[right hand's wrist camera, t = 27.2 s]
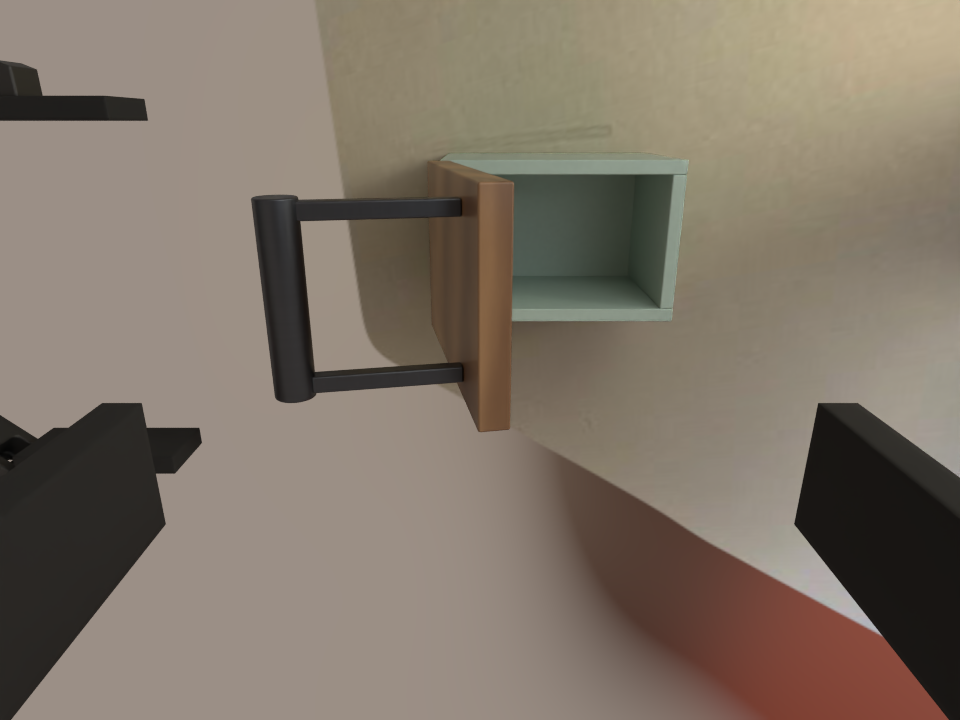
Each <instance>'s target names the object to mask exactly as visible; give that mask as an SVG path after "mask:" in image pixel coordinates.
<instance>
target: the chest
mask: <svg viewBox="0 0 960 720" xmlns="http://www.w3.org/2000/svg"><path fill="white" fill-rule="evenodd" d="M440 161H452V162H455V163H458V164H461V165H464V166H467V167H470V168H473V169H476V170H479V171H482V172H485V173H488V174H491V175H495V176H498V177H501V178H504V179H507V180H510V181H513V182H514V228H513V286H512V321H672V312H673V309H672V308H673V302H674V292H675V283H676V274H677V264H678V255H679V246H680V236H681V227H682V217H683V208H684V199H685V189H686V180H687V175H686V174H687V171H688V162H689V161H688V160H686V159H680V158H673V157H667V156H661V155H655V154H648V153H449V154H447V155H446V156H445V157H443V158H442V159H441V160H440Z"/></svg>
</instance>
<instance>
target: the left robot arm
mask: <svg viewBox="0 0 960 720" xmlns="http://www.w3.org/2000/svg"><path fill="white" fill-rule="evenodd" d="M147 120H148V118H147V112H146V106H145V100H144V99H137V98H124V97H112V96H42V91H41V86H40V82H39V77H38V73H37V70H36V69H34V68H31V67H29V66H26V65H24V64H21V63H14V62H7V61H0V121H147ZM66 429H68V428H53V429H52V430H50V431H49V432H47V433H46V434H44V435H43V436H42V437H40V438H39V439H37V438H35V437H34V436H32V435H31V434H29V433H27V432H26V431H24V430H23V429H21V428H20V427H18V426H16V425H15V424H13V423H12V422H10V421H8V420H7V419H5V418H4V417H2V416H1V415H0V478H1V477H2V476H3V475H5V474H6V473H7V472H9V471H10V470H12V469H13V468H14V467H16V466H17V465H18V464H20V463H21V462H22V461H24V460H25V459H27V458H28V457H29V456H31V455H32V454H33V453H35V452H36V451H38V450H39V449H40V448H42V447H43V446H44V445H46V444H47V443H48V442H50V441H51V440H53V439H54V438H55V437H57V436H58V435H59V434H61V433H62V432H63V431H65V430H66ZM147 433H148V438H149V443H150V448H151V453H152V458H153V463H154V468H155V473H176V472H177V471H178V469H179V468H180V467H181V466H182V465H183V464H184V463H185V461H186V460H187V459H188V458H189V457H190V456H191V455H192V453H193V452H194V451H195V450H196V449H197V448H198V447H199V446H200V444H201V443H202V441H201V435H200V429H199V428H147ZM8 460H13V461H11V462H9V461H8Z"/></svg>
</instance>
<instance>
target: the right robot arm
mask: <svg viewBox="0 0 960 720" xmlns="http://www.w3.org/2000/svg"><path fill="white" fill-rule="evenodd" d="M165 524H166V523H165V518H164V513H163V508H162V503H161V498H160V493H159V488H158V483H157V478H156V473H155V468H154V463H153V458H152V453H151V448H150V443H149V438H148V433H147V428H146V423H145V418H144V413H143V407H142V403H102V404H100V405H99V406H98V407H96V408H95V409H94V410H92V411H91V412H89V413H88V414H87V415H85V416H84V417H83V418H81V419H80V420H79V421H77V422H76V423H74V424H73V425H72V426H70V427H69V428H68V429H66V430H65V431H63V432H62V433H61V434H59V435H58V436H57V437H55V438H54V439H53V440H51V441H50V442H48V443H47V444H46V445H44V446H43V447H42V448H40V449H39V450H38V451H36V452H35V453H33V454H32V455H31V456H29V457H28V458H27V459H25V460H24V461H22V462H21V463H20V464H18V465H17V466H16V467H14V468H13V469H12V470H10V471H9V472H7V473H6V474H5V475H3V476H2V477H1V478H0V720H11V719H12V718H13V716H14V715H15V714H16V713H17V711H18V710H19V709H20V708H21V706H22V705H23V704H24V703H25V701H26V700H27V699H28V698H29V696H30V695H31V694H32V693H33V691H34V690H35V689H36V687H37V686H38V685H39V684H40V682H41V681H42V680H43V679H44V677H45V676H46V675H47V674H48V672H49V671H50V670H51V668H52V667H53V666H54V665H55V663H56V662H57V661H58V660H59V658H60V657H61V656H62V655H63V653H64V652H65V651H66V650H67V648H68V647H69V646H70V644H71V643H72V642H73V641H74V639H75V638H76V637H77V636H78V634H79V633H80V632H81V631H82V629H83V628H84V627H85V626H86V624H87V623H88V622H89V620H90V619H91V618H92V617H93V615H94V614H95V613H96V612H97V610H98V609H99V608H100V607H101V605H102V604H103V603H104V602H105V600H106V599H107V598H108V596H109V595H110V594H111V593H112V591H113V590H114V589H115V588H116V586H117V585H118V584H119V583H120V581H121V580H122V579H123V577H124V576H125V575H126V574H127V572H128V571H129V570H130V569H131V567H132V566H133V565H134V564H135V562H136V561H137V560H138V558H139V557H140V556H141V555H142V553H143V552H144V551H145V550H146V548H147V547H148V546H149V545H150V543H151V542H152V541H153V540H154V538H155V537H156V536H157V534H158V533H159V532H160V531H161V529H162V528H163V527H164V526H165ZM794 524H795V526H796V527H797V528H798V529H799V531H800V532H801V533H802V535H803V536H804V537H805V538H806V540H807V541H808V542H809V543H810V545H811V546H812V547H813V548H814V550H815V551H816V552H817V553H818V555H819V556H820V557H821V559H822V560H823V561H824V562H825V564H826V565H827V566H828V567H829V569H830V570H831V571H832V572H833V574H834V575H835V576H836V577H837V579H838V580H839V581H840V583H841V584H842V585H843V586H844V588H845V589H846V590H847V591H848V593H849V594H850V595H851V596H852V598H853V599H854V600H855V602H856V603H857V604H858V605H859V607H860V608H861V609H862V610H863V612H864V613H865V614H866V615H867V617H868V618H869V619H870V620H871V622H872V623H873V624H874V626H875V627H876V628H877V629H878V631H879V632H880V633H881V634H882V636H883V637H884V638H885V639H886V641H887V642H888V643H889V644H890V646H891V647H892V648H893V650H894V651H895V652H896V653H897V655H898V656H899V657H900V658H901V660H902V661H903V662H904V663H905V665H906V666H907V667H908V669H909V670H910V671H911V672H912V674H913V675H914V676H915V677H916V679H917V680H918V681H919V682H920V684H921V685H922V686H923V687H924V689H925V690H926V691H927V692H928V694H929V695H930V696H931V698H932V699H933V700H934V701H935V703H936V704H937V705H938V706H939V708H940V709H941V710H942V711H943V713H944V714H945V715H946V716H947V718H948V719H949V720H960V478H959V477H958V476H957V475H955V474H954V473H953V472H951V471H950V470H948V469H947V468H946V467H944V466H943V465H942V464H940V463H939V462H938V461H936V460H935V459H933V458H932V457H931V456H929V455H928V454H927V453H925V452H924V451H922V450H921V449H920V448H918V447H917V446H916V445H914V444H913V443H912V442H910V441H909V440H907V439H906V438H905V437H903V436H902V435H901V434H899V433H898V432H897V431H895V430H894V429H892V428H891V427H890V426H888V425H887V424H886V423H884V422H883V421H881V420H880V419H879V418H877V417H876V416H875V415H873V414H872V413H871V412H869V411H868V410H866V409H865V408H864V407H862V406H861V405H860V404H858V403H818V407H817V413H816V418H815V423H814V428H813V433H812V438H811V443H810V448H809V453H808V458H807V463H806V468H805V473H804V478H803V483H802V488H801V493H800V498H799V503H798V508H797V513H796V518H795V523H794Z"/></svg>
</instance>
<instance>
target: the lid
mask: <svg viewBox="0 0 960 720" xmlns="http://www.w3.org/2000/svg"><path fill="white" fill-rule="evenodd" d="M427 172H428V197H411V198H363V199H316V200H298V197H297V196H294V195H264V196H256V197H253V198H252V199H251V202H252V210H253V218H254V227H255V235H256V243H257V252H258V259H259V268H260V276H261V284H262V293H263V301H264V309H265V317H266V326H267V334H268V342H269V351H270V359H271V367H272V376H273V384H274V392H275V398H276V399H277V400H278V401H280V402H285V403H297V402H303V401H307V400H309V399H311V398H313V397H314V396H315V395H316V393H322V392H336V391H349V390H363V389H376V388H390V387H403V386H416V385H430V384H443V383H457V384H458V386H459V388H460V390H461V393H462V395H463V397H464V400H465V402H466V404H467V407H468V409H469V411H470V413H471V416H472V418H473V420H474V423H475V425H476V427H477V429H478V431H479V432H487V431H499V430H508V429H510V403H511V345H512V286H513V228H514V182H513V181H510V180H507V179H504V178H501V177H498V176H495V175H491V174H488V173H485V172H482V171H479V170H476V169H473V168H470V167H467V166H464V165H461V164H458V163H455V162H452V161H428V162H427ZM398 218H429V243H430V279H431V315H432V326H433V329H434V331H435V333H436V335H437V338H438V340H439V342H440V345H441V347H442V349H443V351H444V354H445V356H446V358H447V361H448V363H440V364H425V365H411V366H396V367H382V368H367V369H353V370H338V371H324V372H315V370H314V360H313V349H312V339H311V328H310V318H309V307H308V297H307V287H306V276H305V266H304V255H303V245H302V235H301V224H300V221H323V220H360V219H398Z"/></svg>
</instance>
